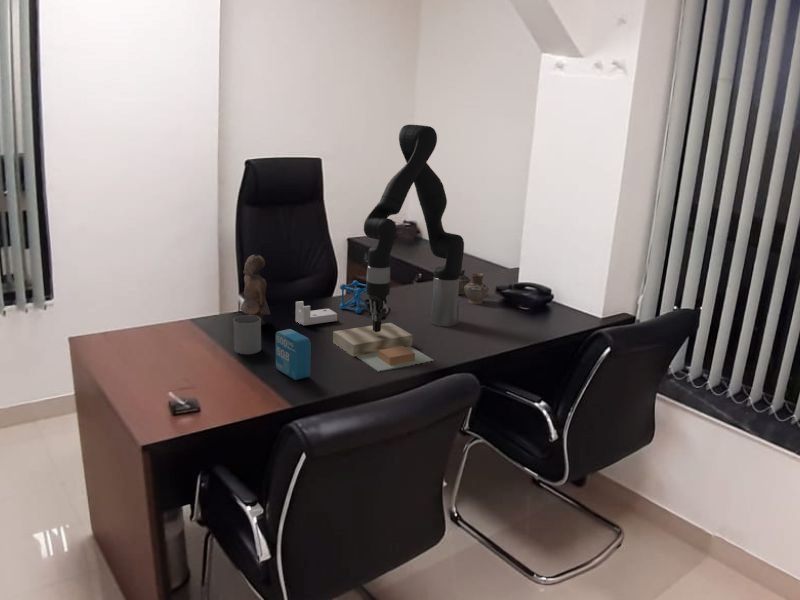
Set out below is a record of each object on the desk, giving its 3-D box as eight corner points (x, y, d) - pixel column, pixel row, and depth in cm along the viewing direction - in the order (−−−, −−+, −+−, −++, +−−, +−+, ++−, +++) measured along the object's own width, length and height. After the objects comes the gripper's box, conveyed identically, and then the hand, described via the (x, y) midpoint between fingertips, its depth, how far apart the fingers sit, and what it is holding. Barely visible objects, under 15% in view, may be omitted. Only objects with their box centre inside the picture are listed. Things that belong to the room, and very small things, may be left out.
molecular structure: (338, 309, 262) (338, 284, 259) (354, 303, 270) (355, 279, 267) (358, 314, 256) (359, 289, 253) (374, 308, 264) (375, 283, 261)
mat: (410, 347, 225) (410, 346, 225) (433, 361, 214) (433, 360, 214) (356, 356, 215) (356, 355, 214) (378, 371, 204) (378, 370, 204)
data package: (275, 368, 203) (275, 330, 199) (288, 365, 206) (288, 327, 202) (297, 381, 194) (297, 342, 191) (310, 378, 197) (311, 339, 194)
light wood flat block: (390, 333, 237) (390, 322, 236) (412, 346, 226) (412, 335, 225) (333, 342, 226) (333, 331, 225) (353, 356, 214) (353, 344, 213)
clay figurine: (234, 322, 242) (232, 252, 234) (259, 317, 248) (258, 249, 241) (253, 332, 232) (251, 260, 225) (278, 326, 239) (277, 256, 232)
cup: (237, 355, 211) (237, 324, 208) (231, 346, 218) (230, 317, 215) (264, 352, 215) (264, 321, 212) (257, 343, 222) (256, 314, 219)
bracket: (303, 327, 240) (303, 307, 238) (295, 322, 246) (295, 301, 243) (337, 323, 246) (337, 303, 244) (328, 317, 252) (328, 297, 250)
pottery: (471, 307, 272) (473, 278, 269) (437, 291, 293) (439, 264, 289) (494, 304, 277) (496, 275, 274) (459, 288, 298) (461, 262, 295)
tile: (414, 352, 212) (414, 360, 213) (402, 345, 218) (402, 353, 218) (390, 357, 207) (389, 365, 208) (378, 350, 213) (378, 357, 214)
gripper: (399, 283, 214) (397, 335, 219) (377, 273, 225) (376, 323, 230) (378, 286, 210) (377, 339, 215) (357, 275, 221) (356, 326, 226)
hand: (376, 331), depth 223 cm, fingers closed
